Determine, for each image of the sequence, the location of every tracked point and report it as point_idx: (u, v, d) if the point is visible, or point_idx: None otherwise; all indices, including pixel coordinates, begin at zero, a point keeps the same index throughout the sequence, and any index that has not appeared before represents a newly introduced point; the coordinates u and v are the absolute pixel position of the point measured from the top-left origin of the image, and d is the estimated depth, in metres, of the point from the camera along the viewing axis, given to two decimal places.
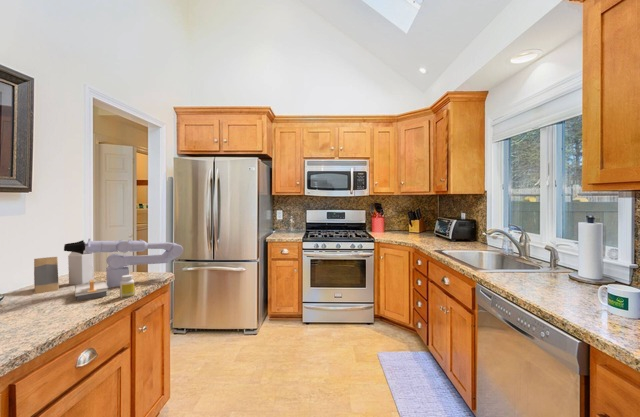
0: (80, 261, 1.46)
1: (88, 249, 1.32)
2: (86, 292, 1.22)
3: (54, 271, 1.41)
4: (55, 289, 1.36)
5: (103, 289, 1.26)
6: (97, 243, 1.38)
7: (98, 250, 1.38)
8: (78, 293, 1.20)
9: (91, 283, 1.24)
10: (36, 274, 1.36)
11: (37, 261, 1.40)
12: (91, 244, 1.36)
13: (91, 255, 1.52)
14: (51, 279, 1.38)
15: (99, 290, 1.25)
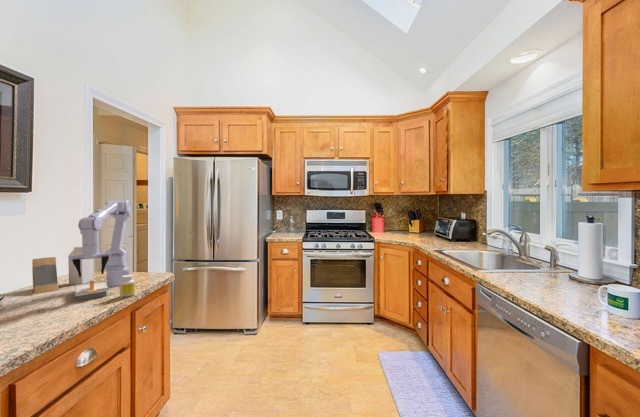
0: (80, 261, 1.46)
1: (111, 253, 1.30)
2: (86, 292, 1.22)
3: (53, 272, 1.40)
4: (55, 289, 1.35)
5: (103, 289, 1.26)
6: (97, 248, 1.25)
7: None
8: (78, 293, 1.20)
9: (91, 283, 1.24)
10: (35, 274, 1.35)
11: (35, 261, 1.39)
12: (98, 252, 1.26)
13: None
14: (50, 279, 1.37)
15: (99, 290, 1.25)
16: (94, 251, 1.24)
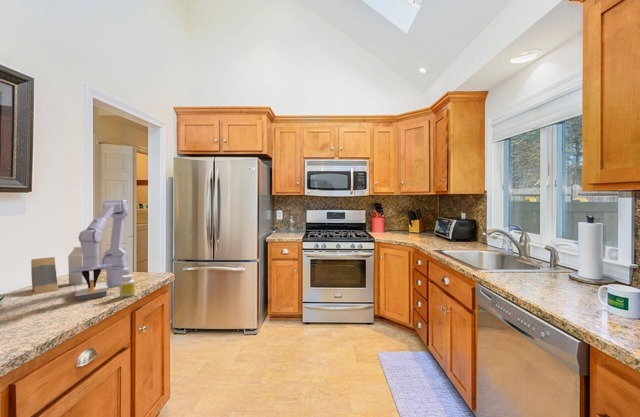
0: (80, 261, 1.46)
1: None
2: (86, 292, 1.22)
3: (52, 272, 1.40)
4: (55, 289, 1.35)
5: (103, 289, 1.26)
6: (97, 260, 1.25)
7: None
8: (78, 293, 1.20)
9: (91, 283, 1.24)
10: (34, 275, 1.35)
11: (34, 262, 1.39)
12: (98, 265, 1.26)
13: None
14: (49, 279, 1.37)
15: (99, 290, 1.25)
16: (94, 263, 1.24)
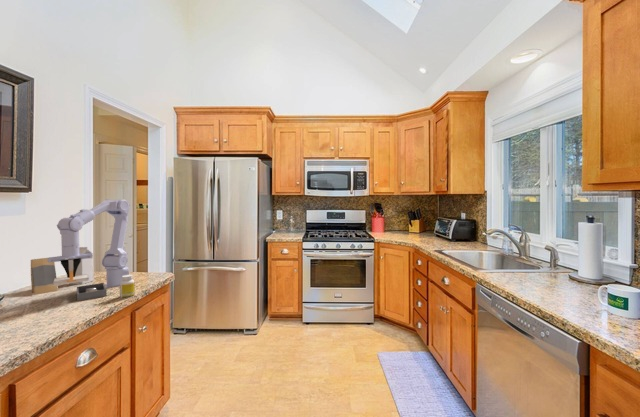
0: None
1: None
2: (65, 282, 1.18)
3: (52, 272, 1.39)
4: (55, 289, 1.35)
5: (83, 279, 1.22)
6: (77, 249, 1.22)
7: None
8: (56, 282, 1.17)
9: (70, 272, 1.20)
10: (34, 275, 1.35)
11: (33, 262, 1.38)
12: (78, 254, 1.22)
13: None
14: (49, 279, 1.36)
15: (79, 280, 1.21)
16: (74, 252, 1.21)
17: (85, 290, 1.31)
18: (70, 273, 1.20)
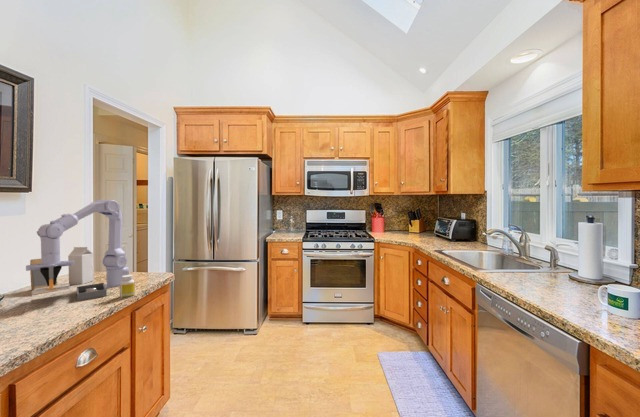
0: (80, 261, 1.46)
1: (73, 262, 1.24)
2: (44, 290, 1.15)
3: (52, 272, 1.39)
4: None
5: (64, 287, 1.19)
6: (57, 256, 1.19)
7: None
8: (35, 291, 1.13)
9: (50, 281, 1.17)
10: (34, 275, 1.34)
11: (33, 262, 1.38)
12: (58, 261, 1.19)
13: (91, 255, 1.52)
14: None
15: (59, 288, 1.18)
16: (54, 260, 1.18)
17: (85, 290, 1.31)
18: (50, 281, 1.17)
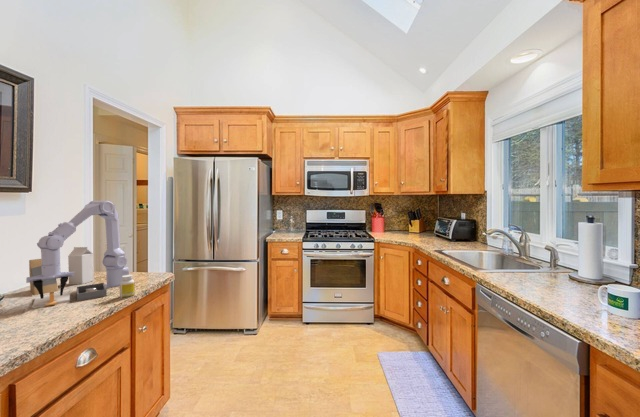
0: (80, 261, 1.46)
1: None
2: (45, 305, 1.15)
3: None
4: (55, 290, 1.34)
5: (64, 301, 1.19)
6: (57, 268, 1.19)
7: None
8: (36, 306, 1.13)
9: (50, 295, 1.17)
10: (33, 275, 1.34)
11: (32, 262, 1.37)
12: (59, 273, 1.19)
13: (91, 255, 1.52)
14: (49, 280, 1.36)
15: (59, 302, 1.18)
16: (54, 271, 1.18)
17: (85, 290, 1.31)
18: (50, 296, 1.17)
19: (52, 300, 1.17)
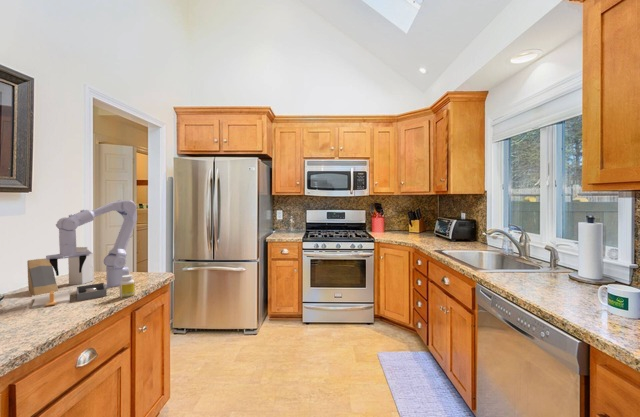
0: None
1: (88, 252, 1.33)
2: (45, 305, 1.15)
3: (50, 273, 1.38)
4: (55, 290, 1.34)
5: (64, 301, 1.19)
6: (74, 247, 1.28)
7: None
8: (36, 306, 1.13)
9: (50, 295, 1.17)
10: (32, 276, 1.33)
11: (30, 263, 1.36)
12: (75, 252, 1.28)
13: (91, 255, 1.52)
14: (48, 280, 1.35)
15: (59, 302, 1.18)
16: (71, 250, 1.27)
17: None
18: (50, 296, 1.17)
19: (52, 300, 1.17)
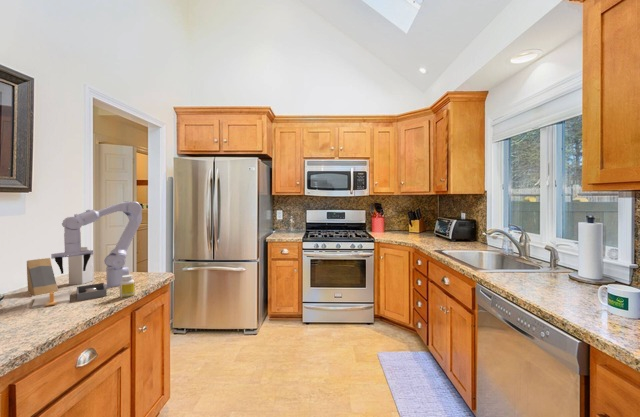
0: (80, 261, 1.46)
1: None
2: (45, 305, 1.15)
3: (50, 273, 1.38)
4: (55, 290, 1.34)
5: (64, 301, 1.19)
6: (78, 246, 1.31)
7: None
8: (36, 306, 1.13)
9: (50, 295, 1.17)
10: (32, 276, 1.33)
11: (30, 263, 1.36)
12: (79, 250, 1.31)
13: (91, 255, 1.52)
14: (48, 280, 1.35)
15: (59, 302, 1.18)
16: (76, 249, 1.30)
17: (85, 290, 1.31)
18: (50, 296, 1.17)
19: (52, 300, 1.17)
